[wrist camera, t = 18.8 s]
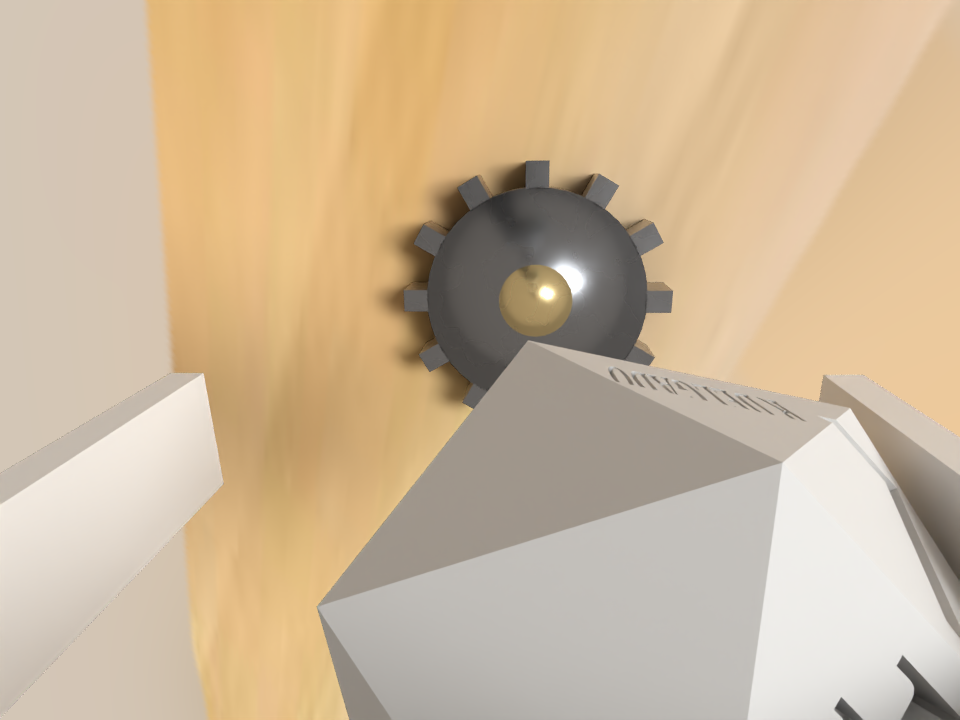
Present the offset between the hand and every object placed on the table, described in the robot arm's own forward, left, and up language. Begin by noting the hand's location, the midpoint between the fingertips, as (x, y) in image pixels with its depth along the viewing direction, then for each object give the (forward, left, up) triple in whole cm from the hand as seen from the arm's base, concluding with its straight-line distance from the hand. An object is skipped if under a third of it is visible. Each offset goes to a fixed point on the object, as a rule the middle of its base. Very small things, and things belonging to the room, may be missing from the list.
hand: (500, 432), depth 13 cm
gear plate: (+1, +1, -23) cm, 23 cm away
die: (+1, +3, -1) cm, 3 cm away
